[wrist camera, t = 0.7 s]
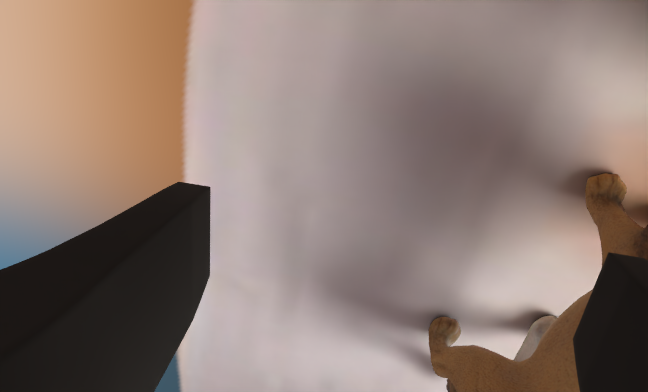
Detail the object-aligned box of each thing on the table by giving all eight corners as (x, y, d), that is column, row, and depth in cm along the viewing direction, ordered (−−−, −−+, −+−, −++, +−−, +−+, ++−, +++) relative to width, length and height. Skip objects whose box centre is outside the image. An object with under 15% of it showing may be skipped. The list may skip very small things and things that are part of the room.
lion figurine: (646, 48, 18) (808, 201, 10) (792, 132, 19) (1049, 335, 11) (397, 356, 25) (384, 579, 18) (508, 409, 26) (541, 648, 18)
